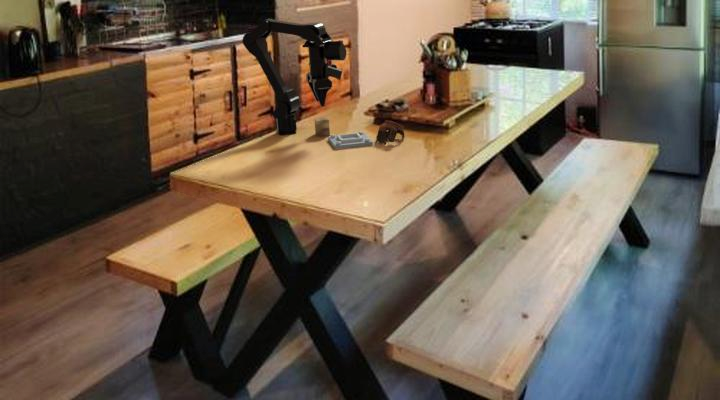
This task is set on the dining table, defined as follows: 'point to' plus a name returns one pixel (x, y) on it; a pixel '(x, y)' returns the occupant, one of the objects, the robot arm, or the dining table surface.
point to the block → (322, 127)
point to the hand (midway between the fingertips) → (320, 103)
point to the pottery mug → (389, 132)
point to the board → (349, 140)
